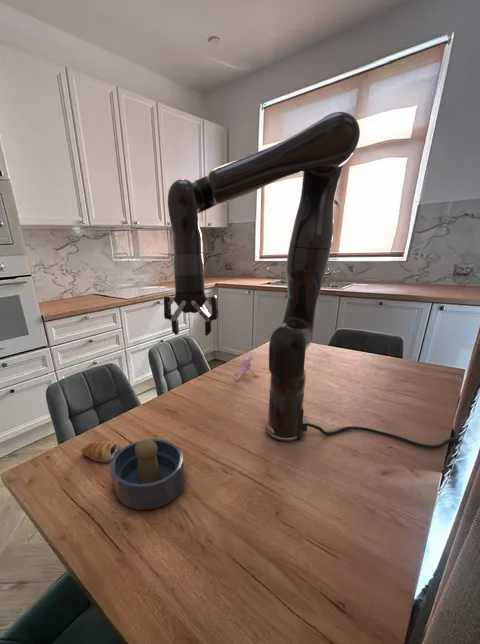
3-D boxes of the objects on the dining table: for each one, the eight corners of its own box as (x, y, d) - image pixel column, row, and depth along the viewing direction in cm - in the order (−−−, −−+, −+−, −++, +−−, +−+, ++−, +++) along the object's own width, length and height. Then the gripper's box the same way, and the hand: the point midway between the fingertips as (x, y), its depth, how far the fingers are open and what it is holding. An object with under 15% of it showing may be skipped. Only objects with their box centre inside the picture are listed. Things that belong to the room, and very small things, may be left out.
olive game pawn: (158, 492, 71) (153, 452, 67) (133, 489, 73) (127, 450, 69) (165, 474, 77) (162, 436, 73) (142, 471, 78) (137, 434, 74)
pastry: (78, 460, 84) (75, 448, 83) (90, 445, 90) (88, 434, 89) (110, 464, 82) (108, 452, 81) (120, 448, 88) (119, 437, 87)
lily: (244, 371, 138) (234, 354, 134) (268, 365, 130) (258, 347, 127) (236, 389, 130) (225, 372, 126) (261, 384, 122) (250, 366, 118)
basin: (191, 465, 81) (190, 442, 78) (173, 516, 66) (171, 491, 63) (131, 457, 84) (128, 436, 82) (102, 505, 69) (97, 480, 67)
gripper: (157, 274, 77) (162, 337, 83) (214, 273, 73) (215, 339, 80) (166, 271, 83) (170, 330, 90) (219, 270, 80) (219, 331, 86)
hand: (191, 334), depth 85 cm, fingers open, 8 cm apart
